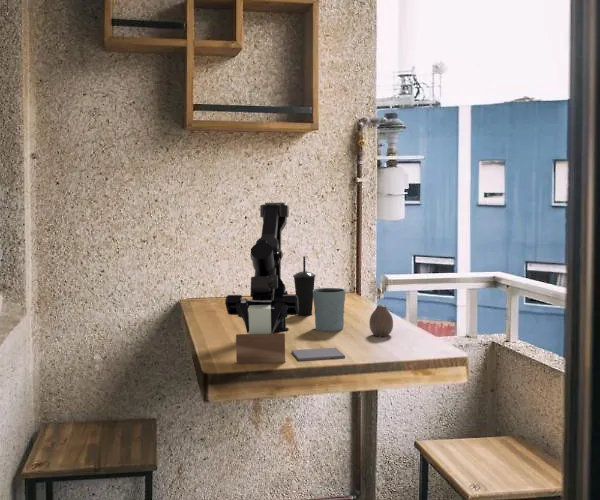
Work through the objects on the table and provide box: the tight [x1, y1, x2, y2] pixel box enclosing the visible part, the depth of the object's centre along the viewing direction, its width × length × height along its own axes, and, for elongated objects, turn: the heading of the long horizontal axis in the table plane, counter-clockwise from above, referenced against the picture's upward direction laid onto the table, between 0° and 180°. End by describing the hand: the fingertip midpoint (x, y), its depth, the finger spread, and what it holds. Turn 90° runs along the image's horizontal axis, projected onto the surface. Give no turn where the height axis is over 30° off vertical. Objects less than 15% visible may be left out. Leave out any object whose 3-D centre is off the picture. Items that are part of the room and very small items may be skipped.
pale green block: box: [248, 305, 272, 334], centre depth 171 cm, size 6×6×13 cm
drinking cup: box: [292, 255, 316, 317], centre depth 229 cm, size 8×8×20 cm
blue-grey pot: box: [313, 287, 346, 332], centre depth 206 cm, size 10×10×12 cm
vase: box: [368, 304, 394, 337], centre depth 196 cm, size 7×7×9 cm
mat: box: [291, 347, 346, 362], centre depth 174 cm, size 12×9×1 cm
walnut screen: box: [235, 332, 286, 365], centre depth 167 cm, size 2×12×7 cm, turn 93°
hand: (259, 332), depth 170 cm, fingers closed on pale green block, 6 cm apart
